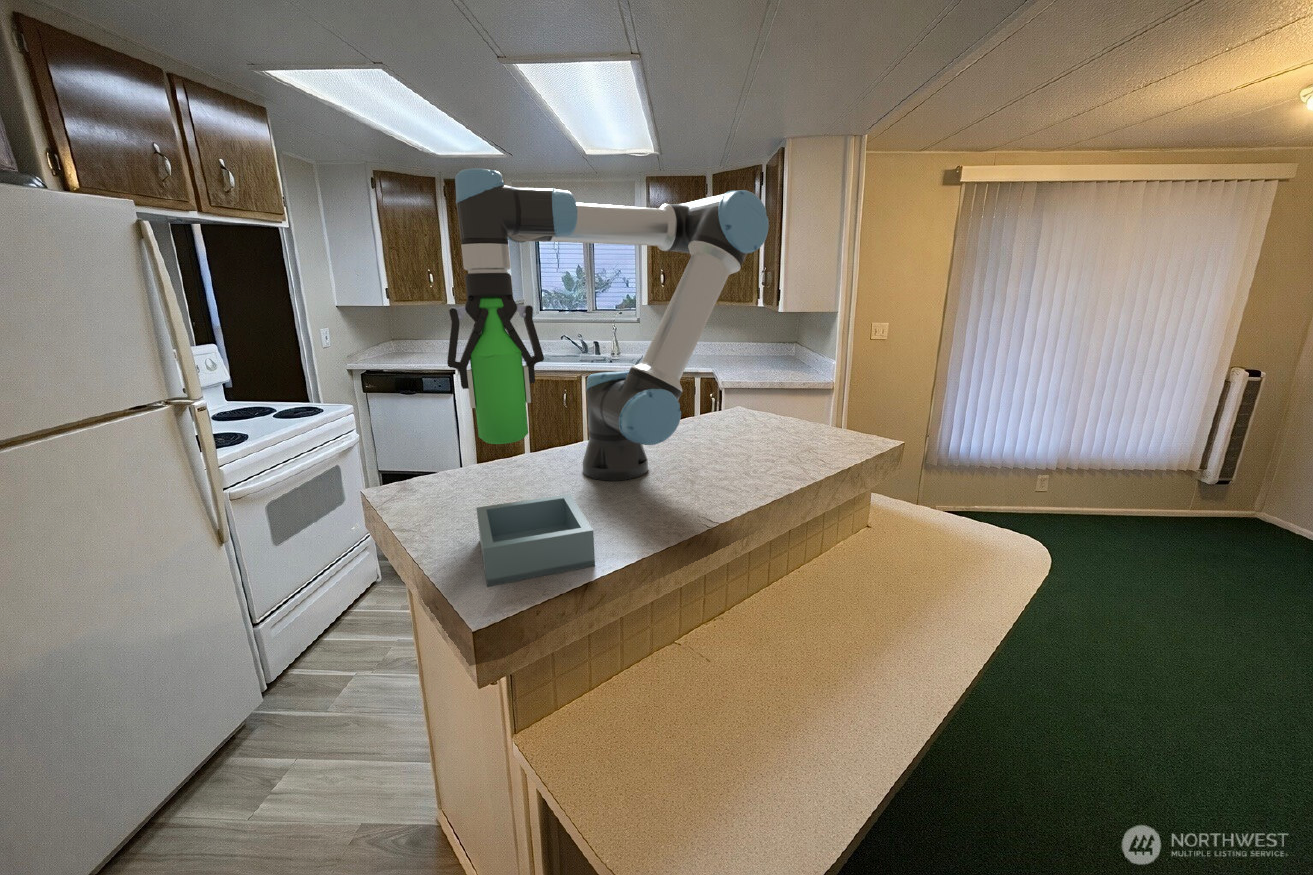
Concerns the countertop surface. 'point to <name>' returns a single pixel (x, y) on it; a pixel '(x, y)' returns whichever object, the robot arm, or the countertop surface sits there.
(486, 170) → the robot arm
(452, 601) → the countertop surface
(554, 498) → the bin
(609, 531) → the countertop surface
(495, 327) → the bottle
